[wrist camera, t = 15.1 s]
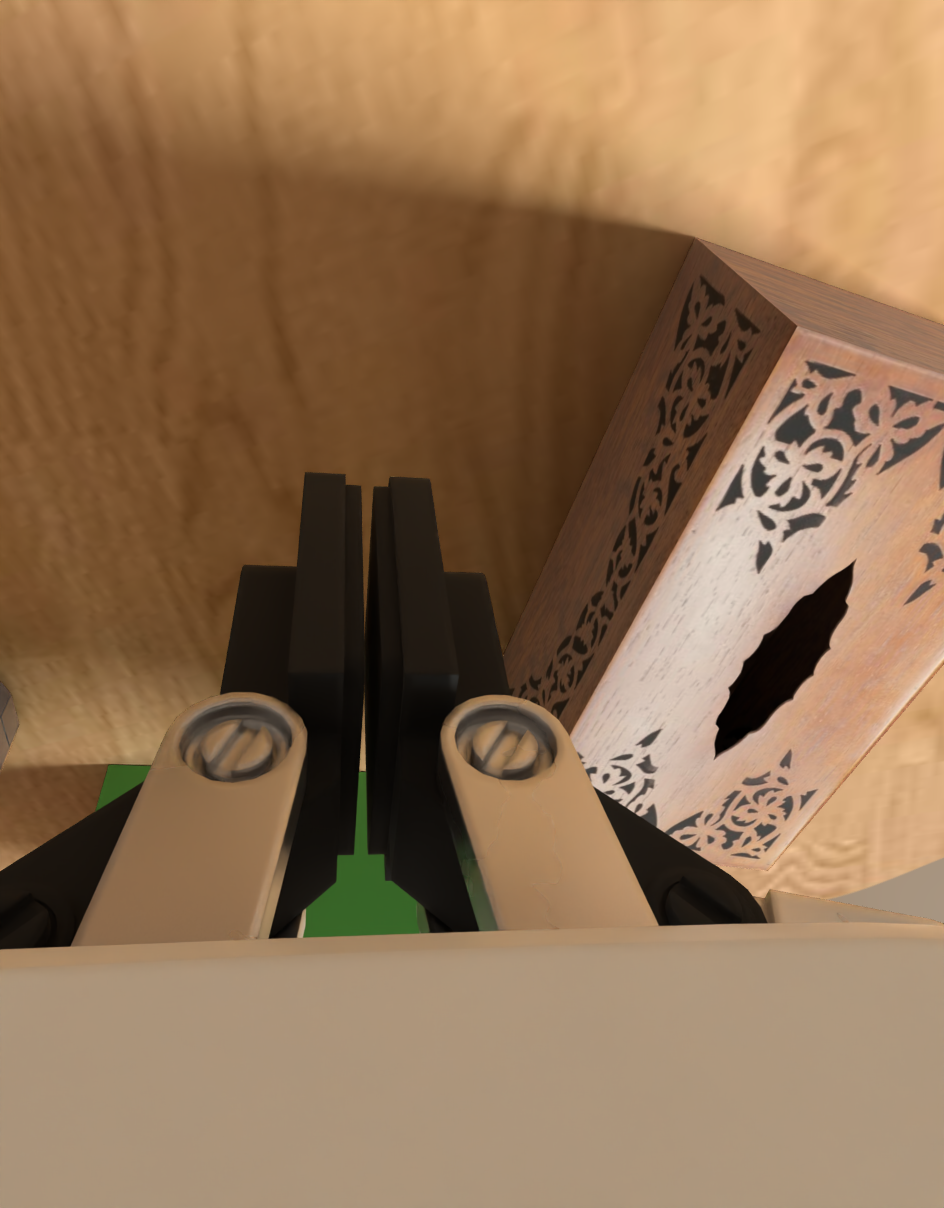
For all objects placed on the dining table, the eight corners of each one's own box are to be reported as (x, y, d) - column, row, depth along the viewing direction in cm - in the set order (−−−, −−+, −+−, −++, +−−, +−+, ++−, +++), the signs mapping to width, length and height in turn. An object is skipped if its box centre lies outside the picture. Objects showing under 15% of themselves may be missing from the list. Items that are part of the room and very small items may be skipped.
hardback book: (118, 846, 53) (-9, 1346, 34) (108, 764, 49) (-44, 1287, 30) (402, 849, 56) (429, 1306, 38) (417, 773, 52) (455, 1247, 33)
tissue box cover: (695, 237, 34) (797, 326, 27) (975, 336, 38) (1135, 438, 31) (485, 694, 49) (511, 840, 41) (705, 732, 53) (767, 871, 45)
